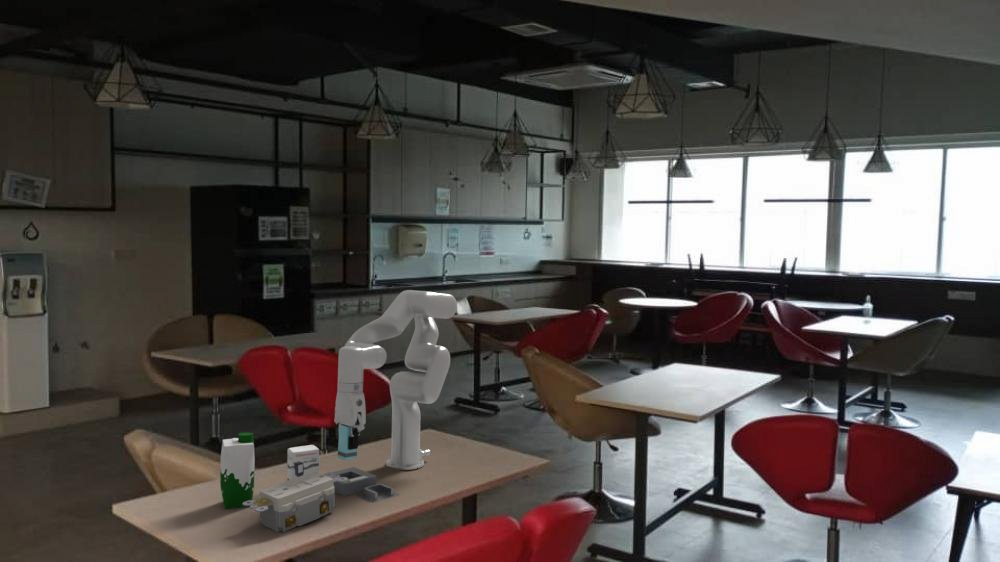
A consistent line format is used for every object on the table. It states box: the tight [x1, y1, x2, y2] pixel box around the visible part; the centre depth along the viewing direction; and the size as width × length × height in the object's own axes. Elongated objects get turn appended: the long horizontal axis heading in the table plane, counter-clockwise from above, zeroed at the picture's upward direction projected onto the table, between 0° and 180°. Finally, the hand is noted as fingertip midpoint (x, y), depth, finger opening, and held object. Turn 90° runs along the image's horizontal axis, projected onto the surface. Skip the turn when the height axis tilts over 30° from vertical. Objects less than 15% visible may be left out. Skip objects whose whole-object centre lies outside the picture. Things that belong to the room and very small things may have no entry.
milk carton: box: [219, 431, 255, 510], centre depth 215 cm, size 9×9×20 cm
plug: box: [337, 424, 358, 461], centre depth 230 cm, size 4×4×10 cm
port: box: [322, 466, 378, 497], centre depth 231 cm, size 12×12×4 cm
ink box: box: [286, 444, 320, 481], centre depth 232 cm, size 8×5×12 cm, turn 123°
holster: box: [356, 483, 401, 503], centre depth 224 cm, size 10×8×3 cm
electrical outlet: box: [243, 471, 348, 533], centre depth 205 cm, size 12×28×10 cm, turn 140°
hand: (348, 446), depth 230 cm, fingers closed on plug, 4 cm apart
